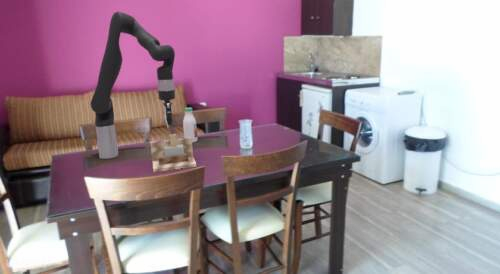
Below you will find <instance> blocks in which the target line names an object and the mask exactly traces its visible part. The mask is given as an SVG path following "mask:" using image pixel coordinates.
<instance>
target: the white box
mask: <svg viewBox="0 0 500 274" xmlns="http://www.w3.org/2000/svg"><path fill="white" fill-rule="evenodd" d="M176 139H177V134H176V133H169V140H170V146H164V149H165V157H172V156H181V155H184V148H183V144H179V145H177V141H176Z"/></svg>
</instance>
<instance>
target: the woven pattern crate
mask: <svg viewBox="0 0 500 274" xmlns="http://www.w3.org/2000/svg"><path fill="white" fill-rule="evenodd" d="M176 141H177V145H179V144H183V148H184V155H181V156H172V157H165V149H164V146H170V139H164V140H157V141H156V140H154V141H150V142H149V143H150V151H151V153H150V154H151V159H152V169H153V170H152V171H153V173H159V172H165V171H167V172H168V171H173V170H174V169H175V170H182V169H181V168H183V169H191V168H196V167H197V162H196V160H195V157H194V153H193V152H194V150H193V149H194V148H193V143H192V138H191V137H190V138H184V137H183V138H176Z"/></svg>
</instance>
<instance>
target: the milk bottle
mask: <svg viewBox="0 0 500 274" xmlns="http://www.w3.org/2000/svg"><path fill="white" fill-rule="evenodd" d="M182 127H183V138H190V137H191V138H192V144H193V143H196V142H198V140H199V139H198V128H197V121H196V118H195V116H194V114H193V107H190V106H189V107H185V108H184V117H183V121H182Z"/></svg>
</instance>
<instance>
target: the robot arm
mask: <svg viewBox="0 0 500 274" xmlns="http://www.w3.org/2000/svg"><path fill="white" fill-rule="evenodd" d="M121 33H123V34H126V35H130V36H132V37H134V38H135V39H136V40H137V42H138V44H139V45H140V46H141V47H142V48H144V49H145V50H146V51H147V52H148V54H149V56H150V57H151V59H152V60H154V61H155V62H162V65H161V66H158V67H157V68H156V74H157V75H156V76H157V77H156V78H157V94H158V99H159V101H164V102H163V111H164V114H165V118H166V124H167V125H168V126H172V125H173V119H172V118H173V103H172V102H171V100H172V101H173V100H176V94H175V82H174V75H173V68H174V63H175V56H176V52H175V50H174V48H173V46H171V45H169V44H166V45H164V44H163V45H161V43H160V41H159V40H158V39H157V37H155V35H154V36H153V35H152V34H151V33H149V31H147V30H146V29H145V28H143V26H142V25H141V24H140V23H139V21H137V20H136V18H135V17H133V16H132V15H130V14H127V13H124V12H121V11H115V12H114V13H112V16H111V19H110V22H109V29H108V35H107V41H106V45H105V49H104V53H103V57H102V60H101V64H100V68H99V73H98V79H97V85H96V88H95V90H94V93H93V95H92V97H91V101H90V107H91V110H92V111H93V112H94V113H95V118H94V119H95V120H94V125H95V131H96V138H97V141H96V143H97V148H98V149H97V150H98V155H99V156H98V157H99V159H103V160H107V159H108V160H109V159H114V158H117V157H118V156H119V150H118V149H119V148H118V141H117V135H116V133H117V132H116V128H115V114H114V113H115V112H114V105H113V100H112V98H111V94H112V91H113V87H114V86H115V83H116V81H117V80H118V79H117V78H118V77H119V74H120V72H121V68H122V65H123V55H122V51H121V47H120V37H121Z"/></svg>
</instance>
